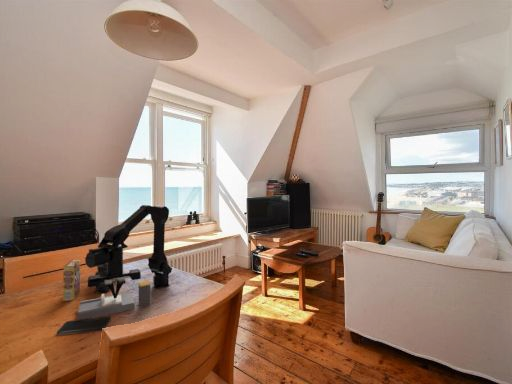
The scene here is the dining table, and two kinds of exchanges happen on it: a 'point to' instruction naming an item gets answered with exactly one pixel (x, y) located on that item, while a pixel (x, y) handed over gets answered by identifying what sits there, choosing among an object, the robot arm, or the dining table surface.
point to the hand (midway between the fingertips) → (115, 298)
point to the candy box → (71, 280)
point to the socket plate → (104, 307)
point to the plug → (144, 293)
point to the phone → (84, 325)
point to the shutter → (110, 300)
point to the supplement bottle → (101, 286)
